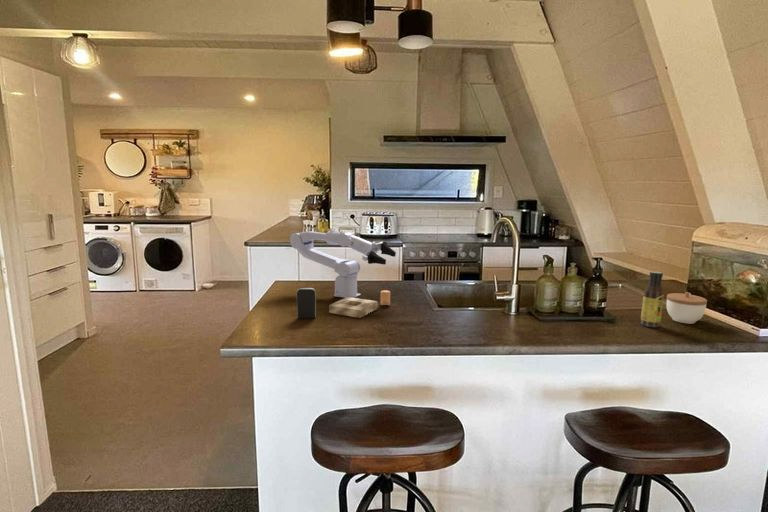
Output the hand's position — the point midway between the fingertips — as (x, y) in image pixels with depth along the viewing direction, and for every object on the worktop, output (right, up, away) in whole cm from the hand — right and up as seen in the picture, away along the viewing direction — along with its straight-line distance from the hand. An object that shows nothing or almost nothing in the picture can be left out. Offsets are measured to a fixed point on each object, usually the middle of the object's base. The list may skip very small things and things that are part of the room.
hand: (390, 258), depth 185 cm
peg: (-2, -19, +1) cm, 19 cm away
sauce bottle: (+94, -25, -22) cm, 100 cm away
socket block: (-15, -21, -9) cm, 27 cm away
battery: (-32, -22, -18) cm, 43 cm away
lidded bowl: (+111, -24, -16) cm, 115 cm away
